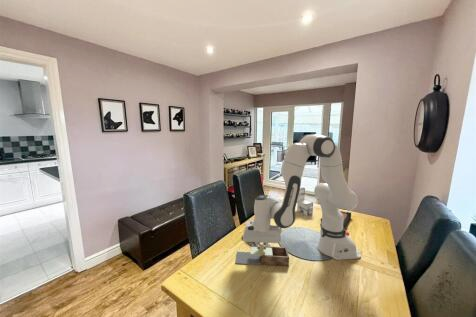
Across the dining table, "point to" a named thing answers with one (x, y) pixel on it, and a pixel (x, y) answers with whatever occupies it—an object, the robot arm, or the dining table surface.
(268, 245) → the packaged product
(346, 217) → the book
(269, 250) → the lid
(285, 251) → the box
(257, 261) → the mat
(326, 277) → the dining table surface
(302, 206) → the toy llama
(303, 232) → the dining table surface
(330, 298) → the dining table surface
